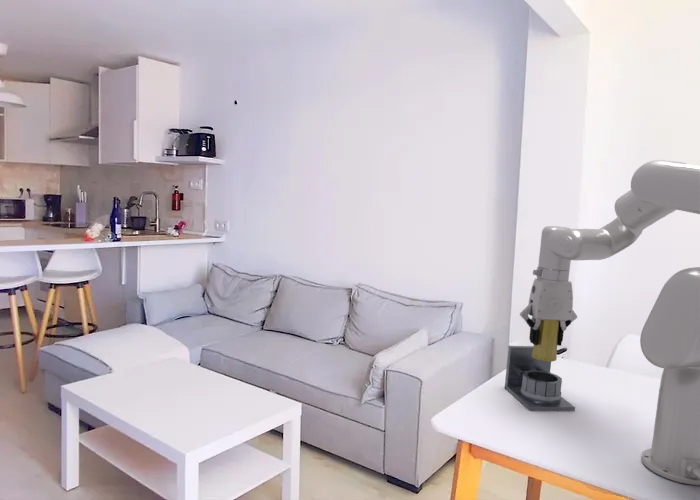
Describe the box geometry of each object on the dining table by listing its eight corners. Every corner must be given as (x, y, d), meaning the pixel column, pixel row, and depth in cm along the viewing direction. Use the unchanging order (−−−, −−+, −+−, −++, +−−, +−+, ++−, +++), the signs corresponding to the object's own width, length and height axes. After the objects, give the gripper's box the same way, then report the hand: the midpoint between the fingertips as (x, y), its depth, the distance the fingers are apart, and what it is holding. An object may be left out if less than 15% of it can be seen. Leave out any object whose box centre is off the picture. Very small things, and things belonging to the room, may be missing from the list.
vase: (558, 363, 135) (564, 308, 133) (533, 360, 136) (538, 305, 134) (554, 355, 141) (560, 303, 139) (530, 353, 142) (535, 300, 140)
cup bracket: (574, 411, 134) (579, 365, 132) (529, 411, 132) (534, 364, 131) (545, 388, 149) (549, 346, 147) (504, 387, 147) (508, 345, 145)
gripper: (527, 276, 130) (520, 347, 133) (592, 279, 133) (584, 349, 135) (514, 271, 138) (507, 338, 140) (576, 273, 140) (568, 340, 142)
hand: (545, 343), depth 138 cm, fingers closed on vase, 5 cm apart
